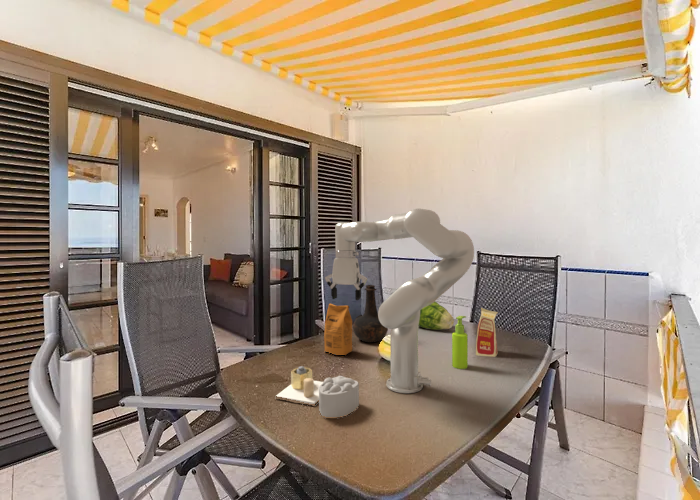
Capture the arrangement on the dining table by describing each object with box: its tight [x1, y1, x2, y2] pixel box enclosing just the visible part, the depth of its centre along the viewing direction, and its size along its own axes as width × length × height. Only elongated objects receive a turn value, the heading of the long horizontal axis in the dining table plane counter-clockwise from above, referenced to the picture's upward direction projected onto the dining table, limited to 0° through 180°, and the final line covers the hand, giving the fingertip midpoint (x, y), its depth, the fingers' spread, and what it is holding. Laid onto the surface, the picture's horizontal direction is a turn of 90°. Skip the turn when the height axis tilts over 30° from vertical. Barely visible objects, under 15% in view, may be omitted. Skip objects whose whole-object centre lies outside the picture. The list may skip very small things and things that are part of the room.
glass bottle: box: [352, 284, 389, 343], centre depth 177 cm, size 18×18×28 cm
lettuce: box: [419, 301, 455, 331], centre depth 196 cm, size 17×23×16 cm
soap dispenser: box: [451, 315, 469, 370], centre depth 140 cm, size 6×7×20 cm
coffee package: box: [323, 303, 353, 356], centre depth 158 cm, size 10×12×22 cm
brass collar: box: [290, 366, 313, 390], centre depth 121 cm, size 7×7×5 cm
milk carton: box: [475, 307, 499, 358], centre depth 155 cm, size 9×9×20 cm
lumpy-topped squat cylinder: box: [318, 375, 360, 417], centre depth 107 cm, size 10×13×9 cm
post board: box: [275, 365, 324, 404], centre depth 118 cm, size 14×15×8 cm
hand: (346, 299), depth 136 cm, fingers open, 9 cm apart
